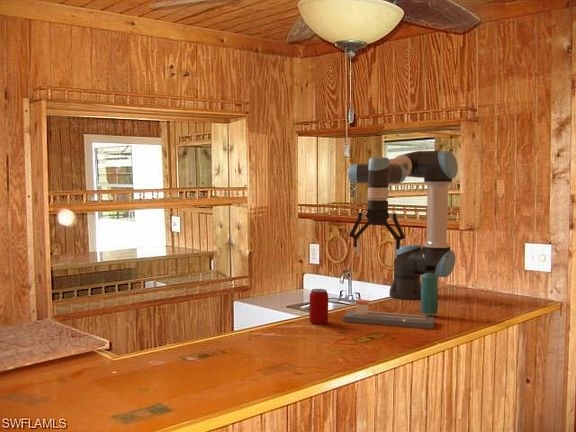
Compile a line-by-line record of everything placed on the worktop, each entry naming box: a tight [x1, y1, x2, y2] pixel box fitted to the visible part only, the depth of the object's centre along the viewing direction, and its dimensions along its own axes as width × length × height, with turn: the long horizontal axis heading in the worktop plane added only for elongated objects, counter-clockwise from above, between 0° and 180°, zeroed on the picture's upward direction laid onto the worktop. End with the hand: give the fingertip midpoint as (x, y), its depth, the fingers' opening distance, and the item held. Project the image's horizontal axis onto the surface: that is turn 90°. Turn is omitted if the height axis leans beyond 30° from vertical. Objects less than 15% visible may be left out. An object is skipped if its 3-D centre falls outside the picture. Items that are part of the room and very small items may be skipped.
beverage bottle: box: [420, 265, 439, 315], centre depth 234 cm, size 6×7×20 cm
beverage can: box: [308, 288, 329, 325], centre depth 222 cm, size 7×7×12 cm
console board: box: [342, 310, 436, 330], centre depth 224 cm, size 10×32×3 cm, turn 72°
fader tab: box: [355, 298, 370, 314], centre depth 227 cm, size 3×4×5 cm
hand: (376, 257), depth 225 cm, fingers open, 13 cm apart
